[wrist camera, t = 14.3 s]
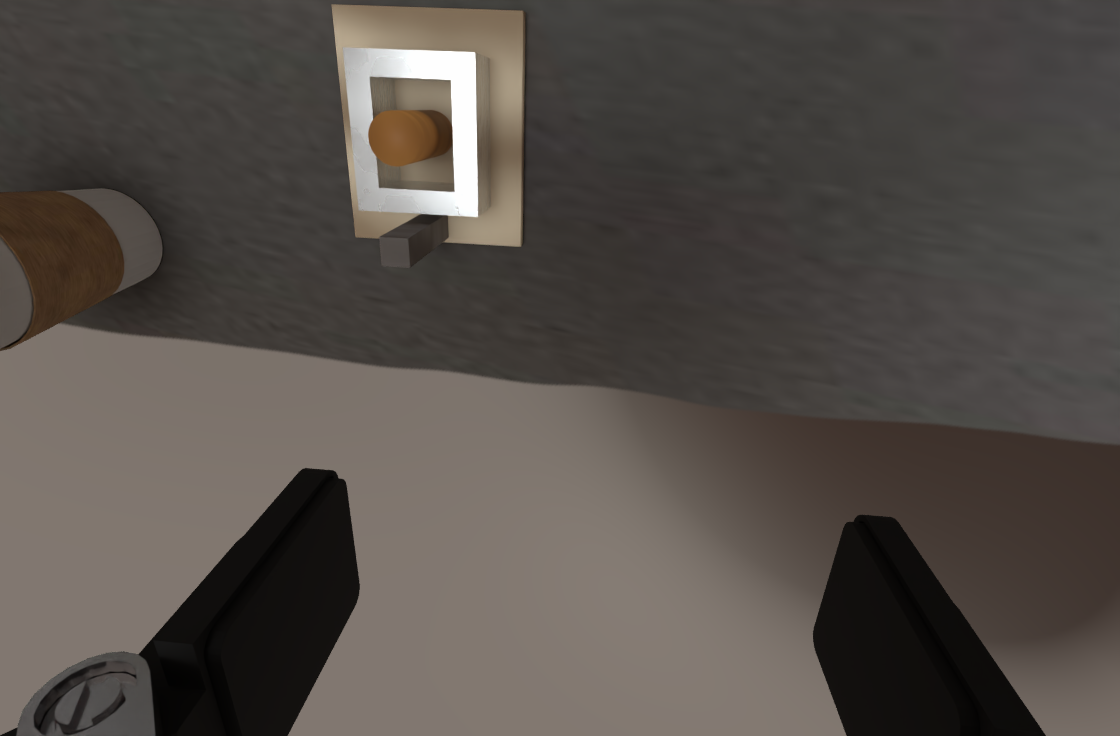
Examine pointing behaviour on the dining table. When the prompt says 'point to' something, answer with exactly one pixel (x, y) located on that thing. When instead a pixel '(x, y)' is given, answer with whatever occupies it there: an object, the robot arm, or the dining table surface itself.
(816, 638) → the robot arm
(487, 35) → the keeper
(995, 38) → the dining table surface
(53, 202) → the coffee cup
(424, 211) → the link
